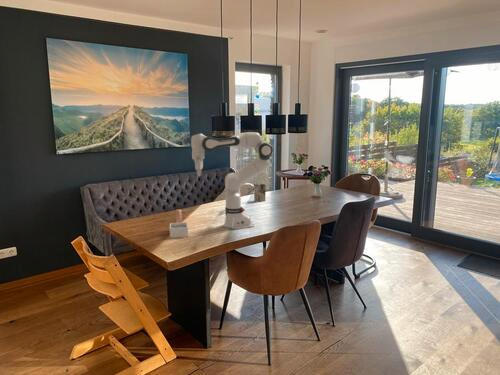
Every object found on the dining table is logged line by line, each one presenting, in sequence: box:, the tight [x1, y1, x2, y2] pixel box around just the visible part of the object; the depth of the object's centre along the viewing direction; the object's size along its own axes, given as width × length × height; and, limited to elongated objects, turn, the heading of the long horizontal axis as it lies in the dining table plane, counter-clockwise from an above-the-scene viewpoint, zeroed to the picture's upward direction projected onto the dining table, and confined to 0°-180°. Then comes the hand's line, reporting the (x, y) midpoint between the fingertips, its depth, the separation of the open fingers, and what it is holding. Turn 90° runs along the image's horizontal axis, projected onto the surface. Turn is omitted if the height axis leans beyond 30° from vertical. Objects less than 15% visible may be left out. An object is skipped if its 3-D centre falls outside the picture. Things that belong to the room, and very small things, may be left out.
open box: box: [169, 222, 189, 239], centre depth 266 cm, size 12×12×7 cm
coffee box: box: [253, 183, 266, 203], centre depth 364 cm, size 9×6×16 cm
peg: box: [175, 209, 183, 223], centre depth 278 cm, size 4×4×14 cm
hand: (199, 175), depth 275 cm, fingers open, 8 cm apart
